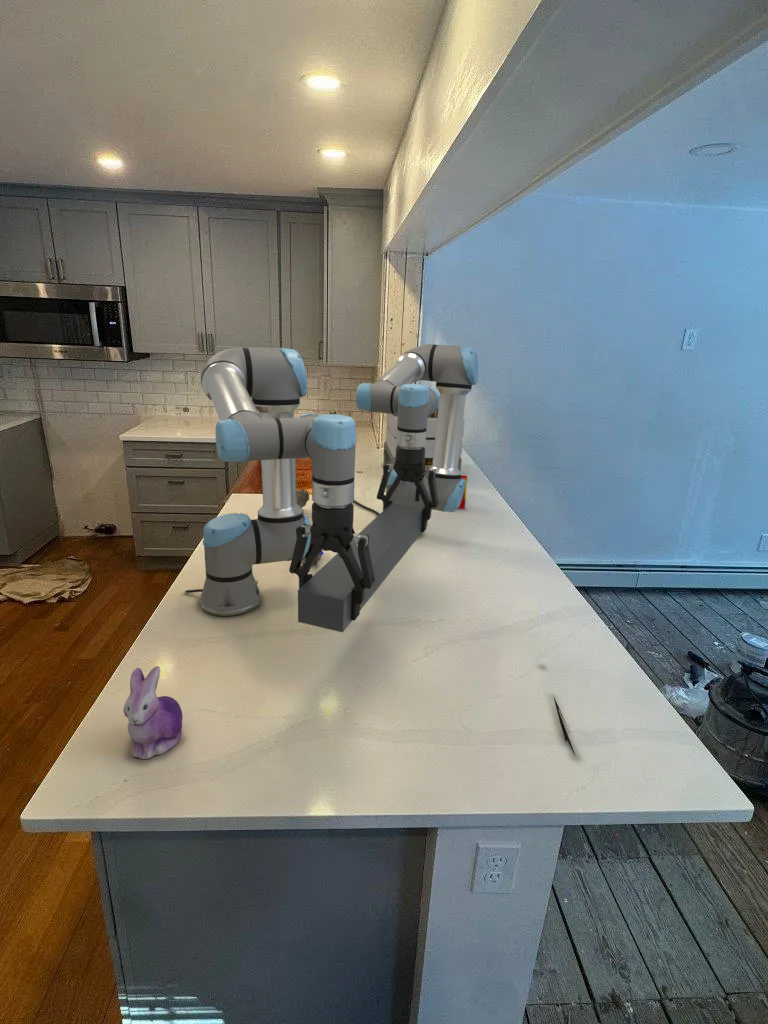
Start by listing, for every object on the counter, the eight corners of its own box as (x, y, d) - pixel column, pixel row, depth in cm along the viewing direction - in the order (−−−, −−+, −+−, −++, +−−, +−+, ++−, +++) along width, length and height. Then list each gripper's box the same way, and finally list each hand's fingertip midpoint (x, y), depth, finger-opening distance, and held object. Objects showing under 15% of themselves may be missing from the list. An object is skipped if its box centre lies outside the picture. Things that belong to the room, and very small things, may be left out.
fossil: (278, 495, 221) (307, 474, 216) (294, 513, 224) (323, 493, 219) (262, 520, 201) (293, 498, 196) (280, 540, 204) (311, 518, 199)
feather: (542, 671, 128) (548, 665, 128) (575, 760, 102) (582, 753, 101) (536, 667, 128) (542, 661, 128) (567, 755, 102) (574, 748, 101)
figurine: (131, 770, 95) (121, 695, 90) (126, 731, 103) (116, 661, 98) (190, 752, 99) (183, 680, 94) (180, 716, 108) (173, 648, 102)
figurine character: (321, 573, 171) (325, 548, 184) (321, 551, 168) (325, 527, 181) (299, 572, 171) (304, 547, 184) (298, 550, 167) (304, 526, 181)
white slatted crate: (382, 463, 289) (386, 382, 275) (445, 464, 293) (451, 384, 279) (390, 482, 257) (394, 392, 243) (460, 483, 261) (468, 394, 247)
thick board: (395, 520, 159) (396, 498, 157) (427, 526, 156) (428, 503, 154) (297, 622, 107) (297, 590, 104) (342, 632, 104) (343, 600, 102)
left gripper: (268, 499, 102) (271, 609, 109) (384, 518, 95) (378, 633, 103) (287, 488, 108) (289, 592, 116) (397, 505, 102) (391, 614, 110)
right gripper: (365, 444, 145) (362, 525, 153) (449, 454, 139) (442, 539, 147) (375, 438, 152) (372, 516, 160) (455, 448, 145) (448, 529, 153)
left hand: (331, 611), depth 110 cm, fingers closed on thick board, 9 cm apart
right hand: (405, 527), depth 153 cm, fingers closed on thick board, 9 cm apart
